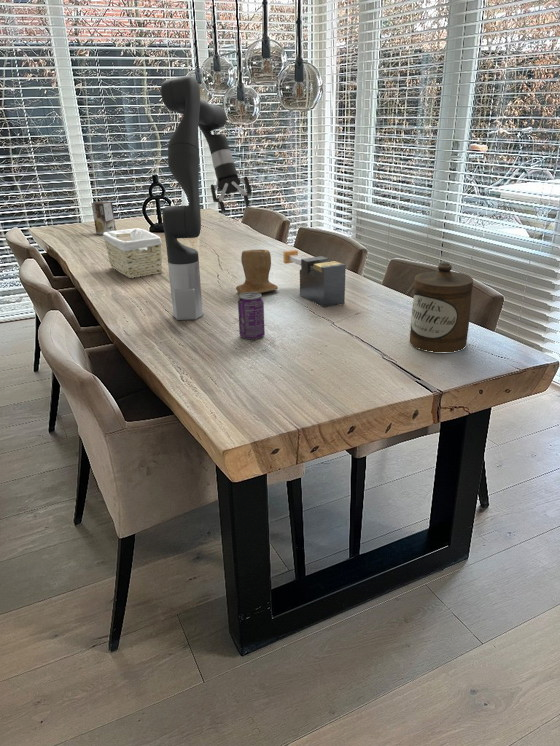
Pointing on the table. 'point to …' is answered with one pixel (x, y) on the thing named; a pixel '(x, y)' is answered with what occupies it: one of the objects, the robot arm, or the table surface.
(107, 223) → the coffee box
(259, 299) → the beverage can
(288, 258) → the sliding latch bolt
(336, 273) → the latch bracket
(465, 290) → the wooden container
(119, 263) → the storage basket
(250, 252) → the stone cup
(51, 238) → the table surface
